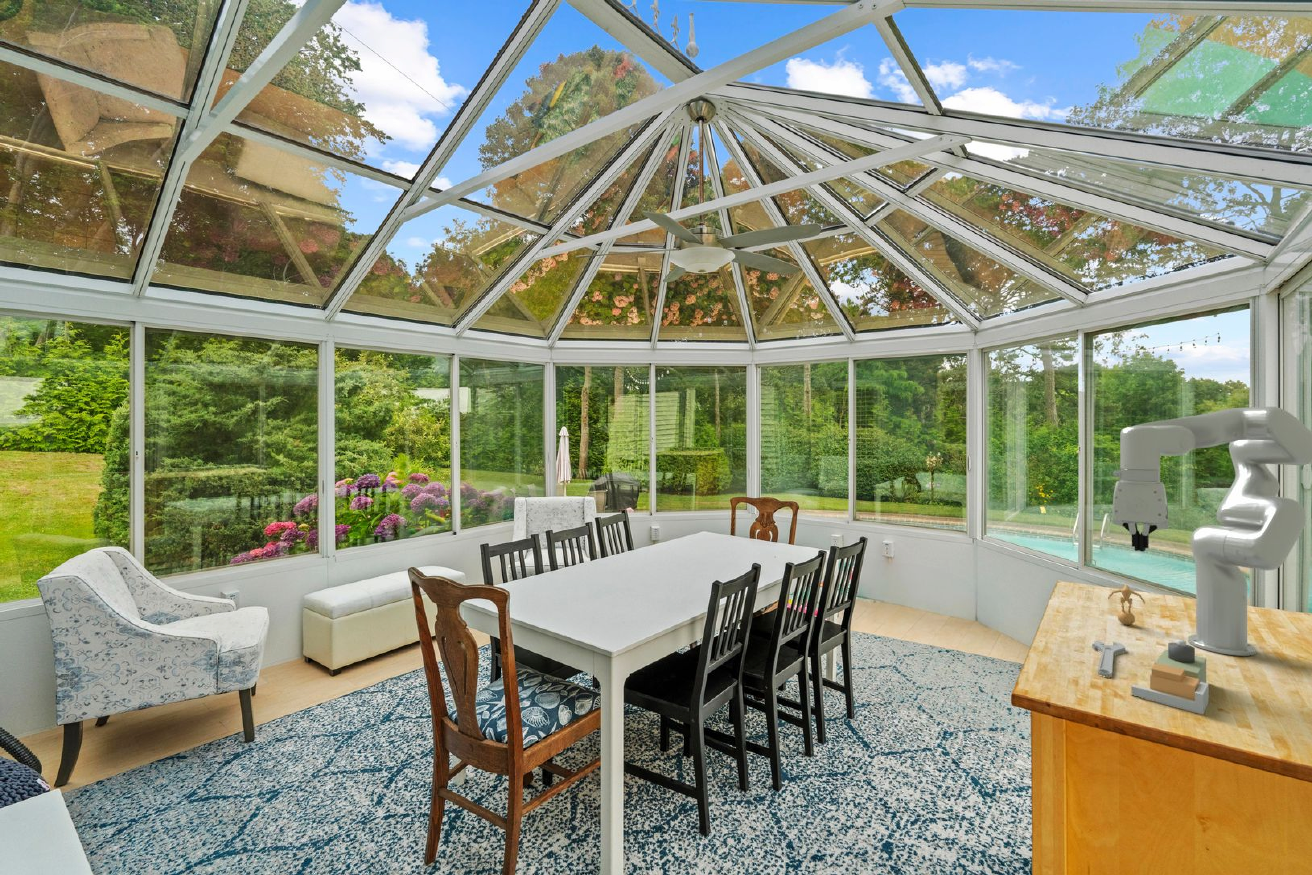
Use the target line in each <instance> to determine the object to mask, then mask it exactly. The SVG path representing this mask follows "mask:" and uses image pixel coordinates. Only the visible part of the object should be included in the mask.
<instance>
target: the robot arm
mask: <svg viewBox="0 0 1312 875" xmlns="http://www.w3.org/2000/svg"><path fill="white" fill-rule="evenodd" d="M1119 434H1120V436H1119V437H1120V440H1119V441H1120V442H1119V443H1120V444H1119V446H1120V447H1119V448H1120V451H1119V452H1120V453H1119V456H1120V459H1119V460H1120V462H1119V463H1120V465H1119V466H1120V467H1119V470H1113V472H1112V476H1113V477H1117V478H1119V480H1117V481H1116V482H1115V484H1114V490H1113V498H1112V501H1113V502H1112V518H1113V519H1112V524H1114V525H1116V526H1119V527H1123V528H1125V530H1126V531H1127V532H1129V534H1130V535H1131V547H1133V548H1134V551H1135V552H1138V551H1139V552H1141V553H1143V552H1145V551H1146V549H1149V546H1150V545H1149V544H1150V543H1149V540H1150V539H1149V535H1150V534H1152V533H1153V532H1155V531H1156V530H1157V531H1158V530H1166V529H1169V528H1170V525H1169V522H1168V518H1169V510H1168V499H1167V493H1166V489H1165V488H1166V487H1165V485H1164V482H1161V456H1162V457H1163V456H1166V457H1167V456H1168V457H1171V456H1172V457H1178V456H1183V455H1186V454H1188V453H1189V452H1191V451H1192V450H1194V449H1204V448H1212V447H1216V446H1219V445H1220V446H1221V445H1224V444H1225V445H1226V444H1228V443H1229V446H1228V451H1229V455H1230V458H1231V461H1232V464H1233V468H1234V472H1235V473H1234V474H1235V477H1234V480H1233V482H1232V483H1231V484H1232V485H1231V486H1230V487H1229V489H1228V491H1227V492H1226V494H1225V496H1224V497H1223V499H1222V500H1221V502H1220V503H1219V504H1218V508H1217V511H1216V519H1217V521H1218V522H1219V523H1220V525H1216V524H1208V525H1202V526H1199V527H1197V528H1195V529H1194V531H1193V532H1192V534H1191V536H1190V546H1191V547H1190V548H1191V550H1192V555H1193V559H1194V564H1195V565H1194V566H1195V591H1196V592H1195V602H1196V603H1195V606H1196V607H1195V608H1196V610H1195V611H1196V612H1195V614H1196V616H1195V620H1196V621H1195V624H1196V625H1195V628H1196V630H1195V633H1196V634H1191V635H1189V636H1187V638H1188V639H1187V641H1188V642H1189V643H1190V644H1191V646H1192V645H1193V647H1195V648H1196V647H1197V648H1200V649H1203V650H1205V651H1209V652H1212V653H1218V654H1223V655H1229V656H1239V657H1246V656H1247V657H1249V656H1250V655H1251V656H1254V654H1255V655H1256V654H1257V649H1256V647H1255V646H1254V645H1251V644H1250V643H1248V583H1247V579H1246V577H1245V575H1244V573H1243V571H1241V569H1240V567H1242V568H1248V569H1253V570H1259V571H1274V570H1277V569H1279V568H1280V567H1281V566H1282V565H1283V564H1284V562H1285V561H1286V559H1287V558H1288V556H1289V555H1290V552H1291V551H1292V549H1293V548H1294V546H1295V544H1296V542H1297V541H1298V539H1299V538H1300V536H1301V534H1302V533H1303V530H1304V528H1305V526H1306V521H1307V520H1306V518H1307V517H1306V511H1305V509H1304V506H1302V504H1301V503H1299V501H1297V500H1295V499H1293V498H1289V497H1285V496H1284V497H1283V496H1277V495H1278V494H1279V492H1280V491H1279V490H1280V483H1279V481H1278V479H1277V477H1276V476H1275V474H1273V473H1272V472H1271V470H1270V469H1269V468H1268V466H1267V465H1281V466H1282V465H1285V466H1286V465H1288V466H1289V465H1290V466H1305V465H1309V464H1312V431H1311V430H1310V429H1309V427H1307V426H1306V425H1305V424H1303V423H1302V421H1300V419H1298V418H1297V417H1295V415H1293V414H1292V413H1291V412H1290V411H1288V410H1285V409H1283V408H1281V407H1277V406H1253V407H1252V406H1251V407H1250V406H1249V407H1232V408H1227V409H1222V410H1216V411H1213V412H1208V413H1203V414H1202V413H1201V414H1197V415H1191V416H1190V415H1189V416H1184V417H1178V418H1171V419H1163V420H1157V421H1150V422H1145V423H1141V424H1134V425H1132V426H1126V427H1124V428H1122V429H1121V430H1120V433H1119ZM1138 524H1143V525H1142V531H1141V532H1140V530H1139V528H1138Z"/></svg>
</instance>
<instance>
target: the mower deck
mask: <svg viewBox="0 0 1312 875" xmlns="http://www.w3.org/2000/svg"><path fill="white" fill-rule="evenodd" d="M1175 640H1176V642H1168V643H1167V644H1168V645H1167V647H1168V648H1167V649H1164V650H1163V651H1162V653H1161V654H1160V656H1158V657H1157V659H1156V661H1155V662H1154V665H1155V664H1156V663H1159V664H1163V665H1167V666H1172V667H1176V668H1180V669H1185V676H1188V677H1192V678H1196V679H1199V686H1198V688H1197V690H1196V691H1195V700H1191V699H1187V698H1183V697H1179V696H1175V695H1171V694H1167V693H1164V692H1160V691H1156V690H1152V689H1150V688H1148V687H1144V686H1140V685H1136V684H1132V685H1131V696H1132V695H1134V696H1133V697H1135V696H1139V697H1141V698H1140V699H1143V698H1145V699H1144V700H1147V701H1150V700H1153V701H1152V702H1154V701H1156V702H1155V703H1158V702H1159V703H1158V704H1160V705H1161V704H1162V705H1166V706H1168V707H1173V708H1177V709H1181V710H1184V711H1189V712H1191V713H1195V714H1200V715H1202V716H1203V715H1204V714H1205V711H1206V709H1207V707H1208V705H1209V698H1210V696H1209V691H1210V689H1209V687H1210V685H1209V684H1210V683H1209V682H1207V658H1206V657H1203V656H1197V655H1196V649H1195V648H1196V647H1195V646H1192V645H1190V644H1187V641H1186V640H1184V639H1175ZM1139 697H1138V698H1139Z"/></svg>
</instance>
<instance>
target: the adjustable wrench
mask: <svg viewBox="0 0 1312 875" xmlns="http://www.w3.org/2000/svg"><path fill="white" fill-rule="evenodd" d="M1091 648H1092V649H1093V650H1095V649H1096V650H1095V651H1098V650H1099V651H1101V652H1102V653H1101V652H1100V653H1101V657H1100V659H1099V663H1098V668H1097V676H1099V675H1102V676H1105V677H1112V678H1113V666H1114V657H1115V656H1116V655H1115V654H1117V655H1121V654H1124V653H1126V646H1125V645H1124V644H1122V643H1120V642H1117V641H1113V642H1112V645H1111V644H1105V643H1104V642H1103V641H1102V640H1100V639H1099V640H1095V641H1094V642H1093V643H1092V644H1091ZM1099 651H1098V652H1099ZM1123 652H1124V653H1123ZM1114 655H1115V656H1114ZM1113 656H1114V657H1113ZM1105 677H1104V678H1105Z"/></svg>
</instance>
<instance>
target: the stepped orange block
mask: <svg viewBox="0 0 1312 875" xmlns="http://www.w3.org/2000/svg"><path fill="white" fill-rule="evenodd" d="M1149 677H1150V679H1149V683H1150V684H1149V686H1150V687H1149V689H1152V690H1156V691H1160V692H1164V693H1167V694H1171V695H1175V696H1179V697H1183V698H1187V699H1191V700H1195V691H1196V690H1197V688H1198V686H1199V679H1196V678H1192V677H1188V676H1185V669H1180V668H1176V667H1172V666H1167V665H1163V664H1159V663H1156V664H1155V663H1154V665H1153V666H1152V668H1151V673H1150V676H1149Z"/></svg>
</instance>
